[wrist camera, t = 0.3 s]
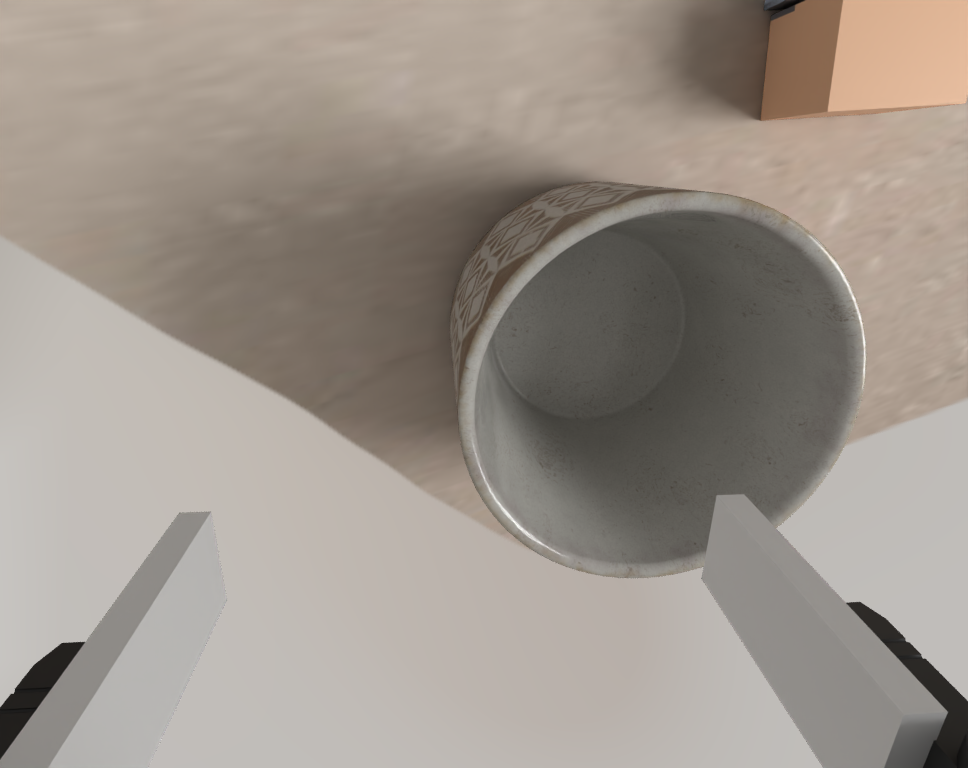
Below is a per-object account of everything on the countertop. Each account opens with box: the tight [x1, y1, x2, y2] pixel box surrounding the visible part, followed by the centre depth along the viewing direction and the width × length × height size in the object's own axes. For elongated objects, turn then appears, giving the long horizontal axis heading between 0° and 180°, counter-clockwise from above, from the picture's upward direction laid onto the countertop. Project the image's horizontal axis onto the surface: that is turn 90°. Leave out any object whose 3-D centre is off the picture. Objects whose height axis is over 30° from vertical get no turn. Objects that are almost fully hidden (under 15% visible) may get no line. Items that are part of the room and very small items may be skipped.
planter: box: [450, 182, 867, 578], centre depth 35 cm, size 19×19×16 cm
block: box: [760, 0, 968, 121], centre depth 34 cm, size 6×8×7 cm
